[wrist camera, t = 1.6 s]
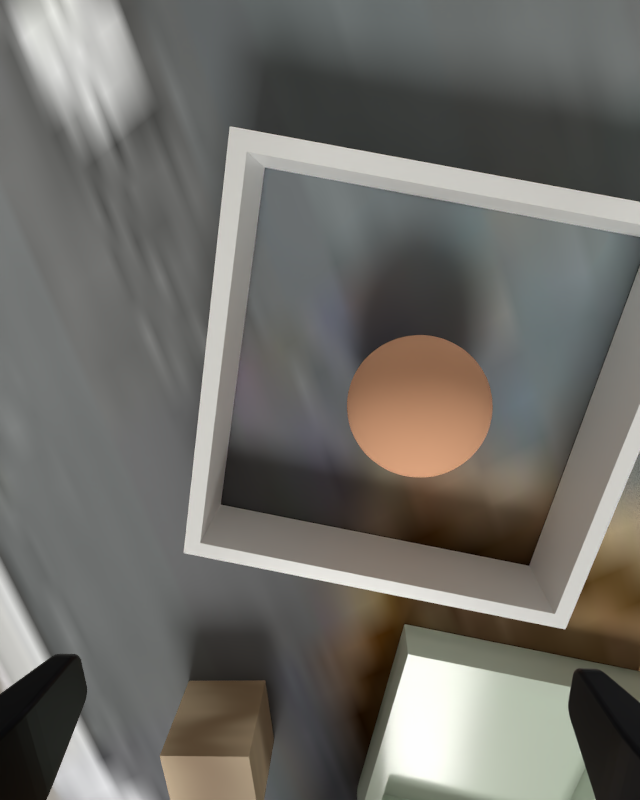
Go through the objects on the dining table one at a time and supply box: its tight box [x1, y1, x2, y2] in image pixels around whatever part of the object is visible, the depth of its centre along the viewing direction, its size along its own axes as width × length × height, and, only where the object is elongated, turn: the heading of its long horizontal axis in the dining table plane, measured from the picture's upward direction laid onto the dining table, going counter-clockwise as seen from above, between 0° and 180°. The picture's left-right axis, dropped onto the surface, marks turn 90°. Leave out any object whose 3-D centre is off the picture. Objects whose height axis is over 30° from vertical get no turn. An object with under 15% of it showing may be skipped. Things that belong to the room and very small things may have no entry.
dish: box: [357, 624, 640, 800], centre depth 24 cm, size 11×11×2 cm
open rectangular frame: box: [184, 126, 640, 629], centre depth 18 cm, size 15×15×3 cm
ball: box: [347, 335, 493, 477], centre depth 17 cm, size 5×5×5 cm
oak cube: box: [160, 680, 274, 800], centre depth 24 cm, size 4×4×4 cm
